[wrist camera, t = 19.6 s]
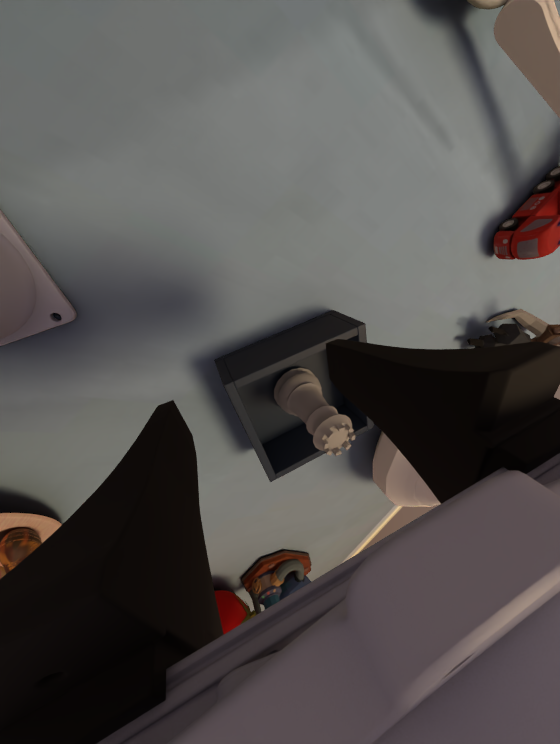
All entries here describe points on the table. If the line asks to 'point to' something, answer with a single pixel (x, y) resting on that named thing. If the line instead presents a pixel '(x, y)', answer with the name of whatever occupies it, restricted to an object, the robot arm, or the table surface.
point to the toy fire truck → (533, 224)
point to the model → (276, 577)
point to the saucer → (487, 3)
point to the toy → (518, 331)
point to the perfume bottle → (22, 537)
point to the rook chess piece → (313, 410)
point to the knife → (533, 44)
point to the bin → (260, 375)
